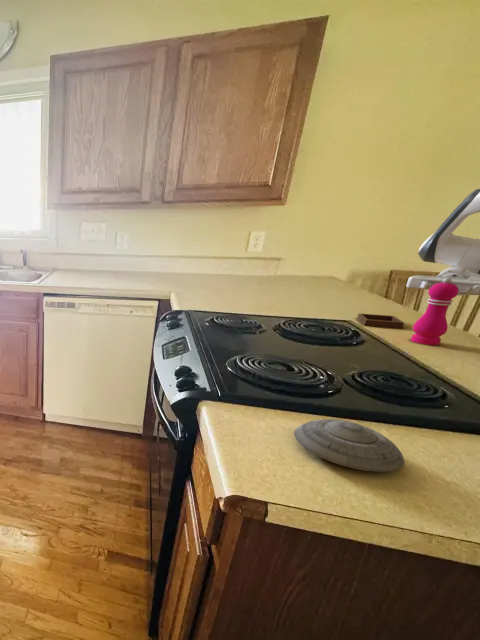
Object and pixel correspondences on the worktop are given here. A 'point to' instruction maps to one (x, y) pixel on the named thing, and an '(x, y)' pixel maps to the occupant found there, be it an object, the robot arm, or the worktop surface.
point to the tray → (380, 320)
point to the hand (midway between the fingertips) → (448, 288)
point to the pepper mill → (435, 314)
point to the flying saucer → (349, 445)
